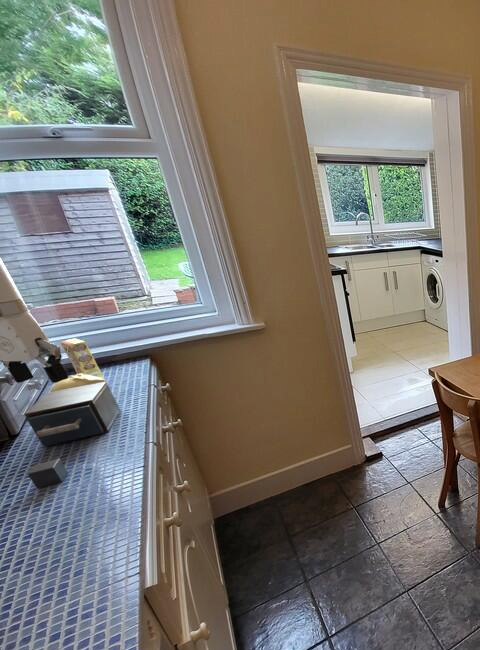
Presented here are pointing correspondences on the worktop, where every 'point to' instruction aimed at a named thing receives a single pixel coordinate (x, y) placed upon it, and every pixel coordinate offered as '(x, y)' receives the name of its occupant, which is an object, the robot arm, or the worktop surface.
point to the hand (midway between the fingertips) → (42, 380)
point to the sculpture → (76, 382)
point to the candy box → (81, 357)
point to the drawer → (65, 424)
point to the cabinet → (81, 403)
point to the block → (48, 473)
